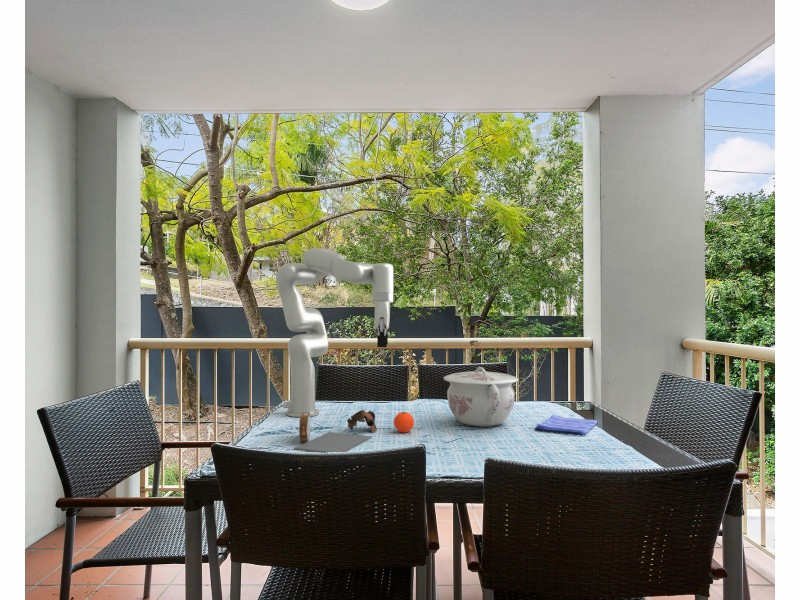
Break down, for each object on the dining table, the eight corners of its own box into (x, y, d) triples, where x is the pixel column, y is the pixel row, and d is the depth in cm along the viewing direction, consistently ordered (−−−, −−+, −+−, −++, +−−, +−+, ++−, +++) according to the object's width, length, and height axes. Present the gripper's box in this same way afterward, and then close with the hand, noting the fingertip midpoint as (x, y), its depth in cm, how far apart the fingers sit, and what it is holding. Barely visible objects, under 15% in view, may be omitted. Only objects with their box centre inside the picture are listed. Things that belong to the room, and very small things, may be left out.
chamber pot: (461, 412, 233) (461, 361, 233) (528, 420, 220) (528, 365, 219) (429, 426, 209) (429, 368, 209) (502, 435, 195) (502, 374, 195)
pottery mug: (371, 436, 196) (359, 415, 196) (351, 445, 201) (339, 425, 201) (386, 420, 207) (374, 401, 207) (367, 429, 212) (355, 410, 211)
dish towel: (533, 432, 202) (533, 424, 202) (551, 419, 223) (551, 412, 223) (584, 438, 194) (584, 429, 194) (598, 424, 214) (598, 416, 214)
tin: (302, 435, 197) (301, 410, 197) (312, 434, 197) (310, 409, 197) (299, 445, 182) (297, 417, 182) (309, 444, 182) (307, 417, 182)
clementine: (394, 429, 205) (394, 408, 205) (414, 429, 205) (414, 409, 205) (393, 434, 197) (393, 413, 197) (413, 434, 197) (413, 413, 197)
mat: (293, 449, 178) (293, 447, 178) (329, 433, 199) (329, 432, 199) (340, 454, 172) (340, 453, 172) (372, 437, 193) (372, 436, 193)
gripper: (373, 297, 217) (373, 343, 217) (370, 298, 199) (370, 348, 200) (394, 297, 217) (393, 343, 217) (392, 298, 199) (392, 348, 199)
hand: (382, 345), depth 208 cm, fingers open, 9 cm apart
